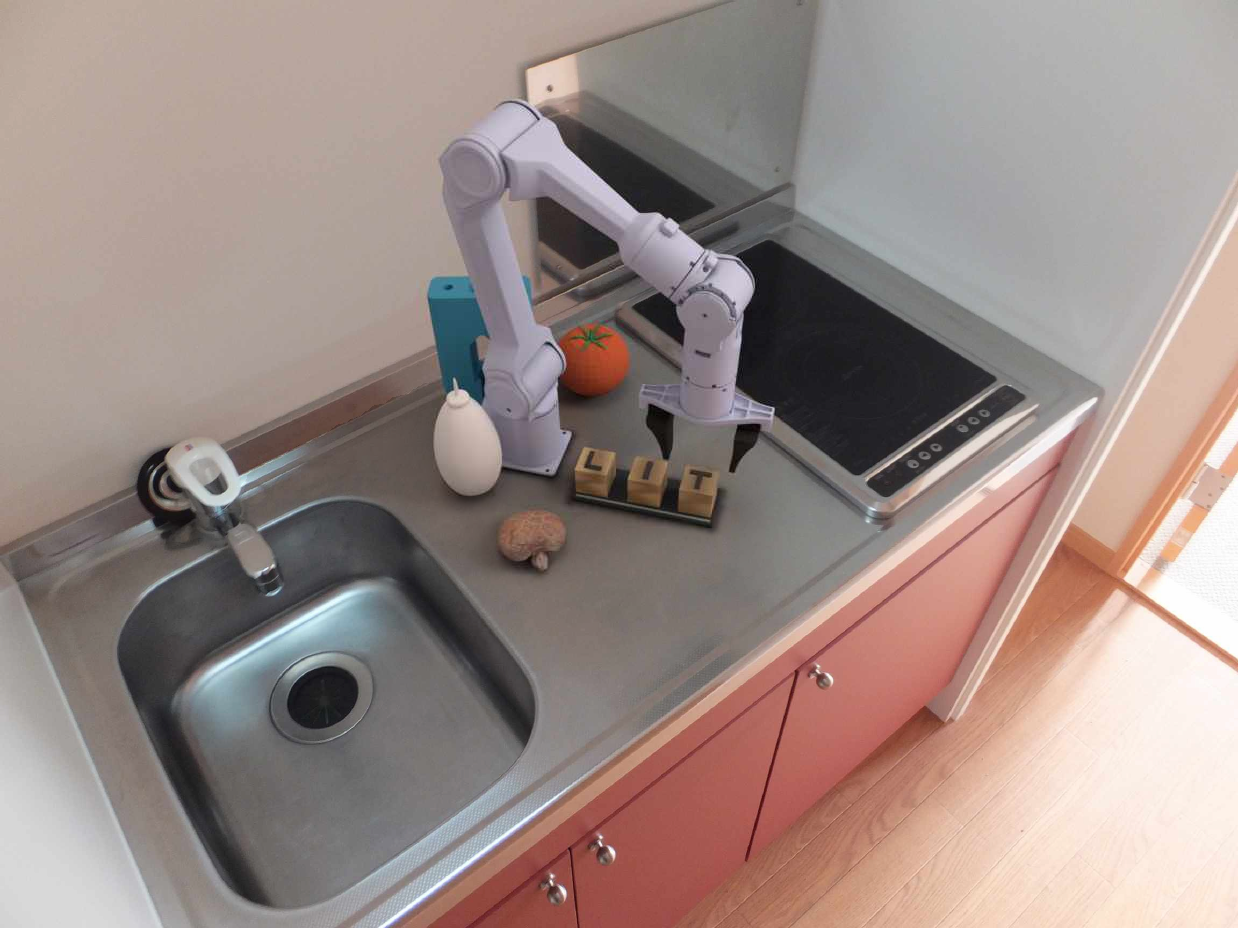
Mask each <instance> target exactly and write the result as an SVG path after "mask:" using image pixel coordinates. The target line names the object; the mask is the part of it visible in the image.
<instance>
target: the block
mask: <svg viewBox="0 0 1238 928" xmlns="http://www.w3.org/2000/svg"><path fill="white" fill-rule="evenodd" d="M522 278H523V282H524V285H525V289H526V292H527V295H528V299H529V302H530V306H531V309H532V313H533V314H534V307H533V296H532V284H531V278H530V277H529V276H527V275H522ZM426 298H427V304H428V309H429V315H430V321H431V326H432V332H433V337H434V341H435V348H436V354H437V359H438V364H439V370H440V375H441V380H442V381H441V382H442V387H443V389H444V391H445V393H446V394H447V395H448V393H450V392H451V391H454V384H453V378H455V380H456V382H457V386H458V390H465V391H466V392H467V393H468V394H469V396H470V397H471V398H473V399H474V400H475V401H476V402H478V403H479V404H480V405H481V406H482V403H483V400H484V397H485V392H484V386H485V376H484V373H483V370H482V367H483V363H484V360H480V358H479V357H480V356H479V350H478V343H477V339H478V338H479V337H480V336H483V337H484V338H486V339H487V340H489V341H490V337H489V334H488V331H487V328H486V325H485V322H484V319H483V316H482V313H481V310H480V307H479V304H478V301H477V298H476V295H475V292H474V289H473V286H472V284H471V281H470V278H469V275H468V276H467V275H465V276H464V275H463V276H460V275H459V276H436V277H435V276H434V277H433V278H432V279H431V280H430V283H429V286H428V289H427V293H426Z"/></svg>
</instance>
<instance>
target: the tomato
mask: <svg viewBox="0 0 1238 928" xmlns="http://www.w3.org/2000/svg"><path fill="white" fill-rule="evenodd" d="M556 344H557V345H558V346H559V348H560V349H561V350H562V352H563V354H564V356H565V359H566V368H565V371H564V372H563V374H562V375H560V376H559V377H558V379H559V380H560V382H561V383H562V384H563V385H564V386H566V388H567V389H569V390H570V391H572V392H573V393H575V394H579V395H582V396H589V397H595V396H602V395H605V394H607V393H610V392H611V391H613V390H615V389H616V388H617V387H618V386H620V384H621V383H622V382H623V381H624V379H625V377H626V376H627V373H628V371H629V367H630V362H631V361H630V353H629V348H628V347H627V344H626V342H625V340H624V339H623V337H621V336H620V334H619V333H617V331H615V330H614V329H612V328H610V327H608V326H605V325H603V322H600V323H599V324H597V323H596V324H595V323H591V324H581V325H577V326H576V327H574V328H572V329H570V330H568V331H567V332H566V333H565V334H564V335H563V336H562V337H561V338H560V339H559V341H558V343H556Z"/></svg>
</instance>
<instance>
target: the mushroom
mask: <svg viewBox="0 0 1238 928" xmlns="http://www.w3.org/2000/svg"><path fill="white" fill-rule="evenodd" d="M566 538H567V530H566V527H565V524H564V522H563V520H562V518H561V517H560V516H559V515H557V514H556V513H554V512H552V511H549V510H545V509H534V510H524V511H521V512H516V513H514V514H513V515H511V516H510V517H508V518H506V519H505V520H504V521H503V522H502V524H501V525H500V527H499V529H498V534H497V544H498V547H499V549H500V551H501V552H502V554H503V555H504V556H506V558H508V559H509V560H512V561H515V562H520V561H526V560H527V559H528V558H529V557H530V561H531V564H532V565H533V567H534V568H537V570H538V571H540V572H542V571H545V570H546V569H548V566H549V562H548V560H549V558H548V557H549V556H548V555H547V552H548V551H549V552H556V551H558V550H559V549H561V548H562V547H563V545H564V543H565V541H566Z"/></svg>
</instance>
